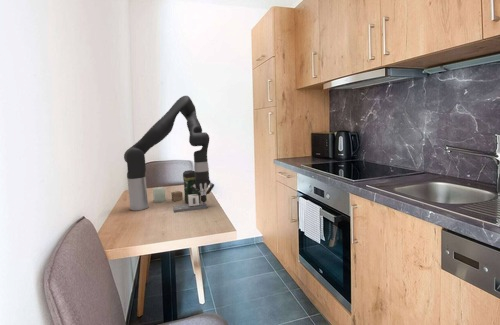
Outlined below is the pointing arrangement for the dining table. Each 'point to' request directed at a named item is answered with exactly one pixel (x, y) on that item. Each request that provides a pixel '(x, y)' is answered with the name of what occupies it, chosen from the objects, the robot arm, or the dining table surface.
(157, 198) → the pale green rounded block
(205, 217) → the dining table surface
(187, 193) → the coffee jar
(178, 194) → the walnut block
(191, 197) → the counting knob
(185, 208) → the counting rail
